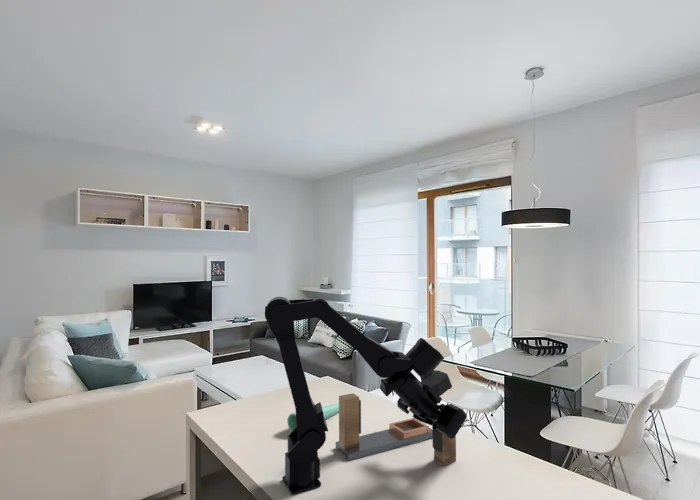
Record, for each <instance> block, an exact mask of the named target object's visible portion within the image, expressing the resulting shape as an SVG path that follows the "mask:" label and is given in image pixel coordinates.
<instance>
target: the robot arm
mask: <svg viewBox="0 0 700 500" xmlns="http://www.w3.org/2000/svg"><path fill="white" fill-rule="evenodd" d="M264 318H265V321H266V322H267V324H268V326H269V329H270V331H271V333H272V335H273V336H274V339H275V340H276V342H277V343H278V347H279V351H280V354H281V359H282V363H283V366H284V370H285V374H286V378H287V381H288V385H289V389H290V392H291V396H292V400H293V404H294V407H295V412H296V422H297V426H296V427H295V428H294V430H293V431H292V432H289V434H288V435H287V436H286V437H287V452H285V453H284V475H283V476H282V477H281V479H282V481H283V483H284V484H285V486H286V488H287V489H288V490H289V492H290V494H291V495H295V494H298V493H302V492H305V491H309V490H313V489H317V488H318V487H321V486H322V482H321V481H320V480H319V479H321V458H320V457H319V452H318V451H319V450H320V449H321V448H322V447H323V446H324V444H325V442H326V439H327V436H326V432H329V429H328V425H327V421H326V420H327V419H326V420H325V417H324V415H323V410H322V407H323V406H322V404H321V403H322V402H321V401H320V402H318V403H315V402H314V401H313V398H312V397H311V392H310V389H309V384H308V382H307V381H308V380H307V377H306V375H305V369H304V367H303V366H304V365H303V362H302V359H301V355H300V352H299V347H298V343H297V340H296V331H295V330H296V329H295V322H298V321H303V320H310V319H314V318H315V319H316V318H317V319H319V320H320V321H321V322H322V323H324V324H325V325H326V326H327V327H328V328H330V330H332V331H333V332H334V333H336V335H338V336H339V337H340V338H341V339H342V340H343V341H345V342H346V343H347V344H348V345H349V346H351V347H352V348H353V349H354V350H356V351H357V353H358V354H359V355H360V356H361V357H362V359H363V360H364V361H365V363H367V365H369V367H370V369H372V370H373V372H374V373H375V374H376V375H377V376H378V377H379V378H381V379H380V385H379V390H380V391H381V393H383V394H384V395H385V396H386V397H389V396H390V395H391V393H393V392H394V393H395V395H397V396H398V397H399V398H398V400H397V401H396V403H397V404H396V405H397V408H398V409H399V410H400V411H401V412H404V413H405V414H407V415H409V413H410V412H411V414H412V417H413V418H415V419H417V420H418V421H420V422H422V423H424V424H425V425H428V426H432V420H434V421H436V422H435V424H434V425H433V427H431V429H432V428H433V429H434V430H436V431H438V432H440V433H442V434H443V435H445V436H447V437H449V438H450V439H452V438H455V436H456V437H457V434H458V433H459V431H460V429H461V428H462V426H463V425H464V423H465V421H466V419H467V418H468V415H467V413H466V411H465V410H464V409H462V408H461V407H459V406H456V405H454V404H452V403H449V404H444V403H441V401H442V400H443V398H442V397H441V396H442V395H444V394H445V393H446V392H447V391H448V390H450V389H452V387H453V385H452V382H451V379H450V377H449V375H448V373H447V372H443V371H441V370H435V369H436V368H438V366H439V365H440V364H441V363H442V362H443V361H444V360H445V356H443V354H441V352H440V351H439V350H438V349H436V348H435V347H434V346H432V345H431V344H430V343H428V341H427V340H426V339H424V338H423V337H420V338H419V339H418V340H416V343H415V344H414V345H413V346H412V347H411V348H410V350H408V352H407V353H404V352H403V351H402V352H400V351H394V350H390V349H389V347H387V346H385V345H383V344H381V343H380V342H378V341H376V340H374V339H372V338H370V337H369V336H367V335H366V334H364V333H363V332H361V330H359V329H358V328H357V327H356V326H355V325H353V324H352V323H351V322H350V321H348V320H347V319H346V317H344V316H343V315H342V314H340V313H339V311H337V310H336V309H334V308H333V307H332V306H331V305H330V304H329V303H328V301H327V300H326V299H324V298H322V297H315V298H303V299H302V298H301V299H288V298H286V297H284V296H276V297H273V298H271V299H270V300H269V302H268V303H267V305H266V307H265V310H264ZM412 370H413V372H415V374H416V375H417V376H418V377H419V378H420V380H419V378H418V377H417V376H416V375H415V374H414V373H413V372H412ZM434 415H435V416H434Z"/></svg>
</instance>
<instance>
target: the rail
mask: <svg viewBox="0 0 700 500" xmlns="http://www.w3.org/2000/svg"><path fill="white" fill-rule="evenodd" d="M338 403H339V412H338V441H335V449H336V450H337V451H338V452H339V453H340V454H341V455H342V456H343V457H344V458H345V459H346V460H347V461H353V460H356V459H360V458H363V457H364V458H365V457H367V456H371V455H375V454H378V453H382V452H385V451H389V450H393V449H397V448H400V447H404V446H407V445H411V444H415V443H419V442H422V441H423V442H424V441H426V440H431V439H433V437H432V427H430V425H428V424H426V423H423V422H421V421H419V420H417V419H415V418H414V417H413V418H412V417H411V418H407V419H404V420H399V421H395V422H392V423H389V427H388V429H385V430H384V429H383V430H380V431H376V432H371V433H367V434H363V435H360V434H362V400H361V399H360V397H359V396H358V395H356V394H355V393H354V392H353V393H347V394H342V395H338Z"/></svg>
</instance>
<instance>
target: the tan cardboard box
mask: <svg viewBox="0 0 700 500" xmlns="http://www.w3.org/2000/svg"><path fill="white" fill-rule="evenodd" d="M434 416H435V415H434ZM435 422H436V421H434V420H432V425H431V426H432V427H433V425H434V424H435ZM432 427H431V429H432V437H433V438H432V448H433V457H434V458H433V459H434V461H436V462H437V463H439V464H440V465H442V466H445V465H449V464H450V463H455V462H457V443H456V442H457V435H456V436H455V438H452V439H450V438H449V437H447V436H445V435H443V434H442V433H440V432H438V431H436V430H434V429H433V428H432Z"/></svg>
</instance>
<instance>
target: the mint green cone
mask: <svg viewBox="0 0 700 500" xmlns="http://www.w3.org/2000/svg"><path fill="white" fill-rule="evenodd" d="M322 410H323V415H324V417H325V420H328V419H330V418H332V417H333V416H335V415H337V414H339V402H338V403H333V404H328V405H324V406H322ZM286 423H287V427H288V429H289V430H290V431H289V433H291V432H292V431H293V430H294V428H295V427H296V426H297V422H296V411H295V412H292V413H290V414H289V415H288V416H287V421H286Z"/></svg>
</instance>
